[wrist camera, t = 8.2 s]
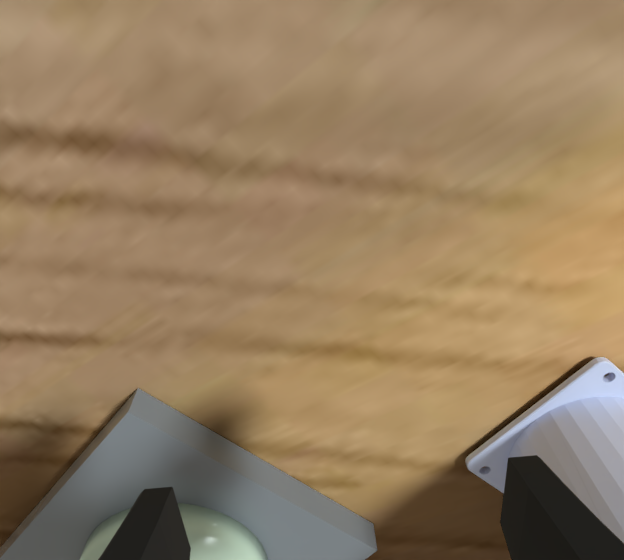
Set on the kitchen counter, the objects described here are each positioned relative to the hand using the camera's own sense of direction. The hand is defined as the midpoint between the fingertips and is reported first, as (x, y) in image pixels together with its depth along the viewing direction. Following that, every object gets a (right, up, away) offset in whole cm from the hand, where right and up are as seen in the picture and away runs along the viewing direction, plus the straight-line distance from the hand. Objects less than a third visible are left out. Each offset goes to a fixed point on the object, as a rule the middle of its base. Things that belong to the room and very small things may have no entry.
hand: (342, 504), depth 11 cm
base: (-7, -9, +16) cm, 20 cm away
